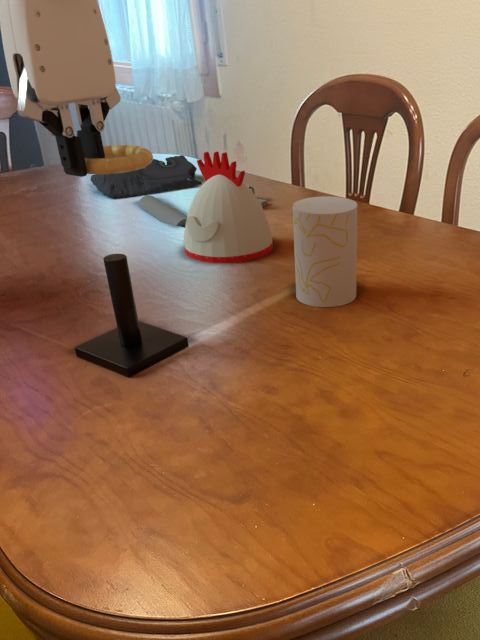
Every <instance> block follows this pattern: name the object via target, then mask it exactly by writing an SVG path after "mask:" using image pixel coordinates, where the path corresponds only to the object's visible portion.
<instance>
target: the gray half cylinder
mask: <svg viewBox="0 0 480 640" xmlns="http://www.w3.org/2000/svg"><path fill="white" fill-rule="evenodd" d="M138 207H139V208H141V209H142V210H143V211H145V212H147V213H149V214H150V215H151V216H153V217H155V218H156V219H158V220H159V221H160V222H162V223H164V224H168V225H172V226H175V227H180V228H185V226H186V220H187V215H185V214H183V212H180V211H178V210H177V209H175V208H174V207H172V206H170V205H169V204H166V203H165V202H164V201H162V200H160V199H159V198H157V197H155V196H153V195H151V194H147V195H143V196H142V197H141V198H140V200H139V201H138Z"/></svg>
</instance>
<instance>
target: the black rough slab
mask: <svg viewBox="0 0 480 640" xmlns="http://www.w3.org/2000/svg"><path fill="white" fill-rule="evenodd" d="M164 160H165V161H166V162H165V161H163V160H159V159H157V158H153V160H152V162H151V163H150V164H149V165H147V166H146V167H145V168H142V169H138V170H134V171H130V172H123V173H115V174H91V176H90V182H91V183H92V185H93V186H95V187H96V190H97V191H98V192H99V193H101V194H102V195H103V196H105V197H108V198H111V199H114V198H132V197H139V196H147V195H153V194H159V193H166V192H172V191H178V190H185V189H189V188H190V189H191V188H195V187H197V185H202V181H201V180H198V179H196V178H195V177H196V172H197V169H198V168H197V166H195V165H194V163H192V162H191V161H189V160H188V159H187V158H186V157H185V155H183V154H181V155H173V156H169V157H165V159H164Z"/></svg>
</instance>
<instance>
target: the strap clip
mask: <svg viewBox="0 0 480 640" xmlns="http://www.w3.org/2000/svg"><path fill="white" fill-rule="evenodd" d="M246 186H247V187H248V188H249V189H250V190H251V191H252V192H253V193H254V195H255V196H256V192H255V187H254V186H249V185H246ZM257 199H258V200H259V202H261V204H262V208H263V207H265V206H266V205H267V203H268V201H267V199H263V198H257Z"/></svg>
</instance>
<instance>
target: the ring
mask: <svg viewBox="0 0 480 640" xmlns="http://www.w3.org/2000/svg"><path fill="white" fill-rule="evenodd" d="M103 149H104V154H105V158H85V162H86V167H87V175H95V174H115V173H123V172H130V171H134V170H138V169H142V168H145V167H146V166H147V165H149V164H150V163H151V162H152V160H153V159H154V155H153V152H151V151H150V150H149V149H148V148H146V147H144V146H140V145H132V144H110V145H109V144H108V145H103Z"/></svg>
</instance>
